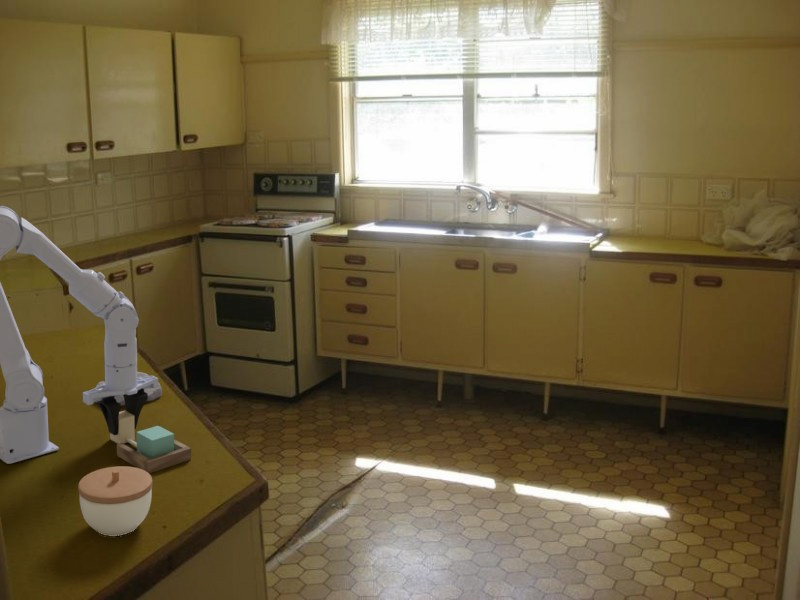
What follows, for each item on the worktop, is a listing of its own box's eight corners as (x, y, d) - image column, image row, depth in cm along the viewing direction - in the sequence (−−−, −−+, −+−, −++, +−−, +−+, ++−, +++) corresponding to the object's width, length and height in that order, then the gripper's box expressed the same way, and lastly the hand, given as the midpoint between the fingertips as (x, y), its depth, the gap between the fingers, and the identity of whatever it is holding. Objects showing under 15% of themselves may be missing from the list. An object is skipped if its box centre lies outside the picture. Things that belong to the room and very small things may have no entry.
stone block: (166, 404, 188) (139, 384, 194) (168, 385, 186) (140, 365, 192) (118, 420, 179) (91, 398, 185) (119, 400, 177) (92, 379, 183)
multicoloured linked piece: (174, 459, 158) (174, 433, 157) (152, 466, 154) (152, 440, 153) (128, 434, 167) (128, 409, 166) (107, 440, 164) (106, 415, 163)
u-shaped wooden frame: (191, 459, 158) (191, 448, 158) (147, 473, 152) (147, 462, 151) (159, 442, 164) (159, 431, 164) (116, 455, 158) (116, 444, 157)
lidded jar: (127, 503, 141) (125, 450, 139) (167, 527, 135) (166, 471, 132) (66, 526, 133) (63, 470, 131) (105, 553, 126) (103, 494, 124)
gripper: (96, 376, 153) (98, 447, 156) (167, 360, 164) (167, 427, 167) (75, 366, 157) (78, 435, 161) (146, 351, 168) (146, 416, 171)
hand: (122, 430), depth 164 cm, fingers closed on multicoloured linked piece, 3 cm apart
